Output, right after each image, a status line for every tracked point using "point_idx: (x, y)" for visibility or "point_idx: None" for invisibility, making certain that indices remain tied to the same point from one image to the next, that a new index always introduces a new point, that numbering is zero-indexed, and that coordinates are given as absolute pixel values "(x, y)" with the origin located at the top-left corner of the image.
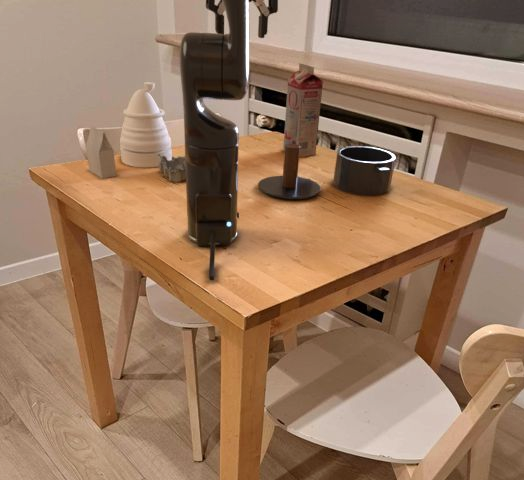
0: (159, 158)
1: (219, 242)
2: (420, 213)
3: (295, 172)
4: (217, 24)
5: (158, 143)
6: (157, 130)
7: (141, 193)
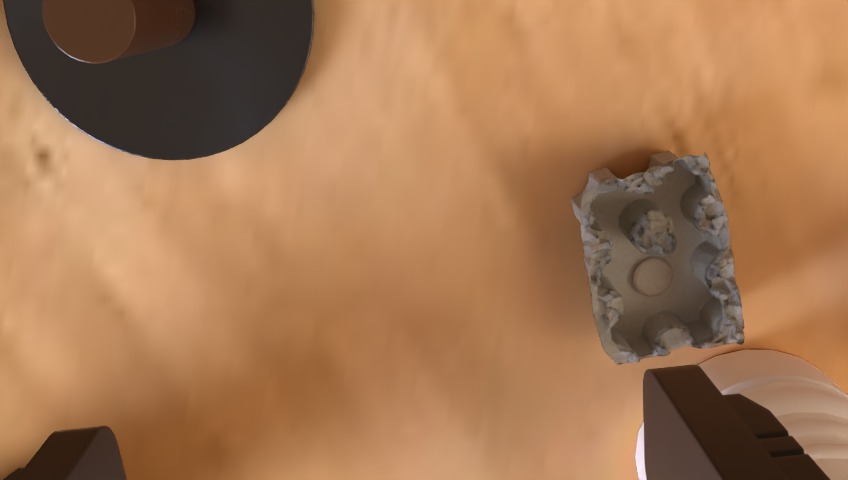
0: (715, 378)
1: None
2: None
3: None
4: (798, 454)
5: None
6: None
7: (843, 20)
